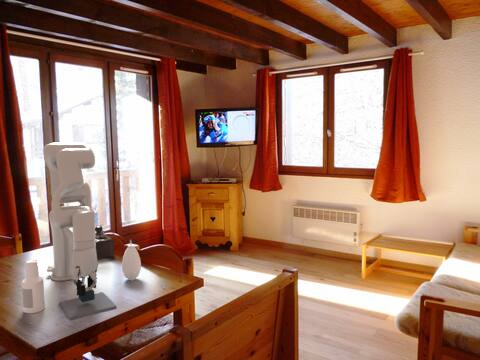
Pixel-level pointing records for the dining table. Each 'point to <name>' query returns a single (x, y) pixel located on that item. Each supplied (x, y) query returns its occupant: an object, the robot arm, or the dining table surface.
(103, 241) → the coffee grinder
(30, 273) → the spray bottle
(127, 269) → the white eggplant
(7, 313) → the dining table surface
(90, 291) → the watch
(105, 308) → the mat
